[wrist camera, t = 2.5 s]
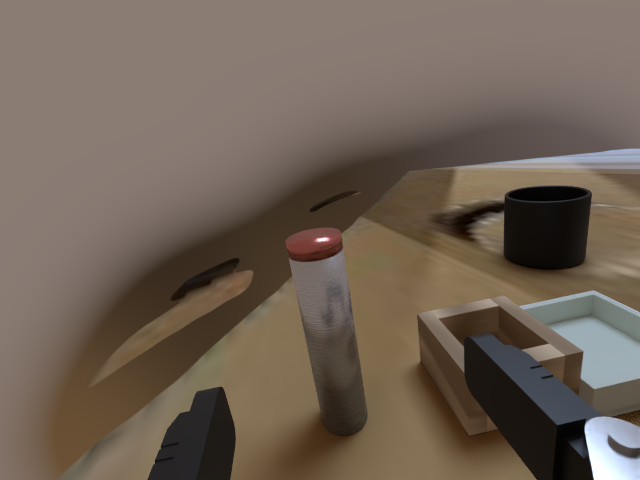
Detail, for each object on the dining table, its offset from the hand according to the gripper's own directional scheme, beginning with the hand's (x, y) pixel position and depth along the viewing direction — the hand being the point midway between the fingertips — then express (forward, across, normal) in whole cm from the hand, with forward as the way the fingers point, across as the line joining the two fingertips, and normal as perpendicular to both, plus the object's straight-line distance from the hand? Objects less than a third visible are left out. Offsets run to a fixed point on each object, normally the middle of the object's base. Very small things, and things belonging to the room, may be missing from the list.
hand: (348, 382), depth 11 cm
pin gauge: (+12, 0, +13) cm, 18 cm away
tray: (+12, -21, +13) cm, 28 cm away
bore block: (+12, -12, +13) cm, 21 cm away
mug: (+32, -34, +13) cm, 48 cm away
